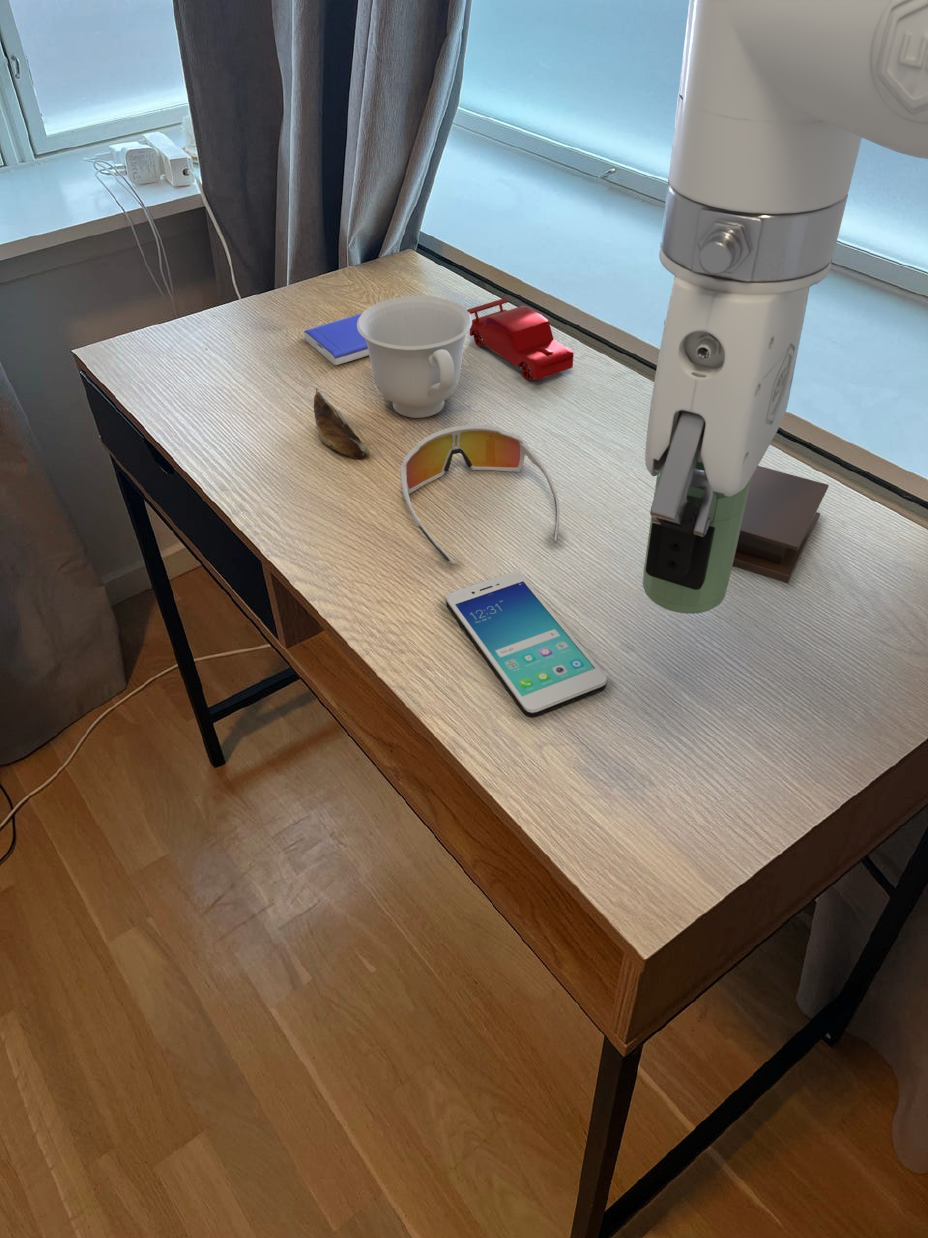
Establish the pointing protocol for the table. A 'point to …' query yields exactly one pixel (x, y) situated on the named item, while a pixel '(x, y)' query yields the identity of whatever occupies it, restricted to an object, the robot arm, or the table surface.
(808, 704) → the table surface
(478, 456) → the sunglasses
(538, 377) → the toy car
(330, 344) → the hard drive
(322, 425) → the oyster shell
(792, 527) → the stand
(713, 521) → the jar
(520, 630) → the smartphone
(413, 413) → the teacup
